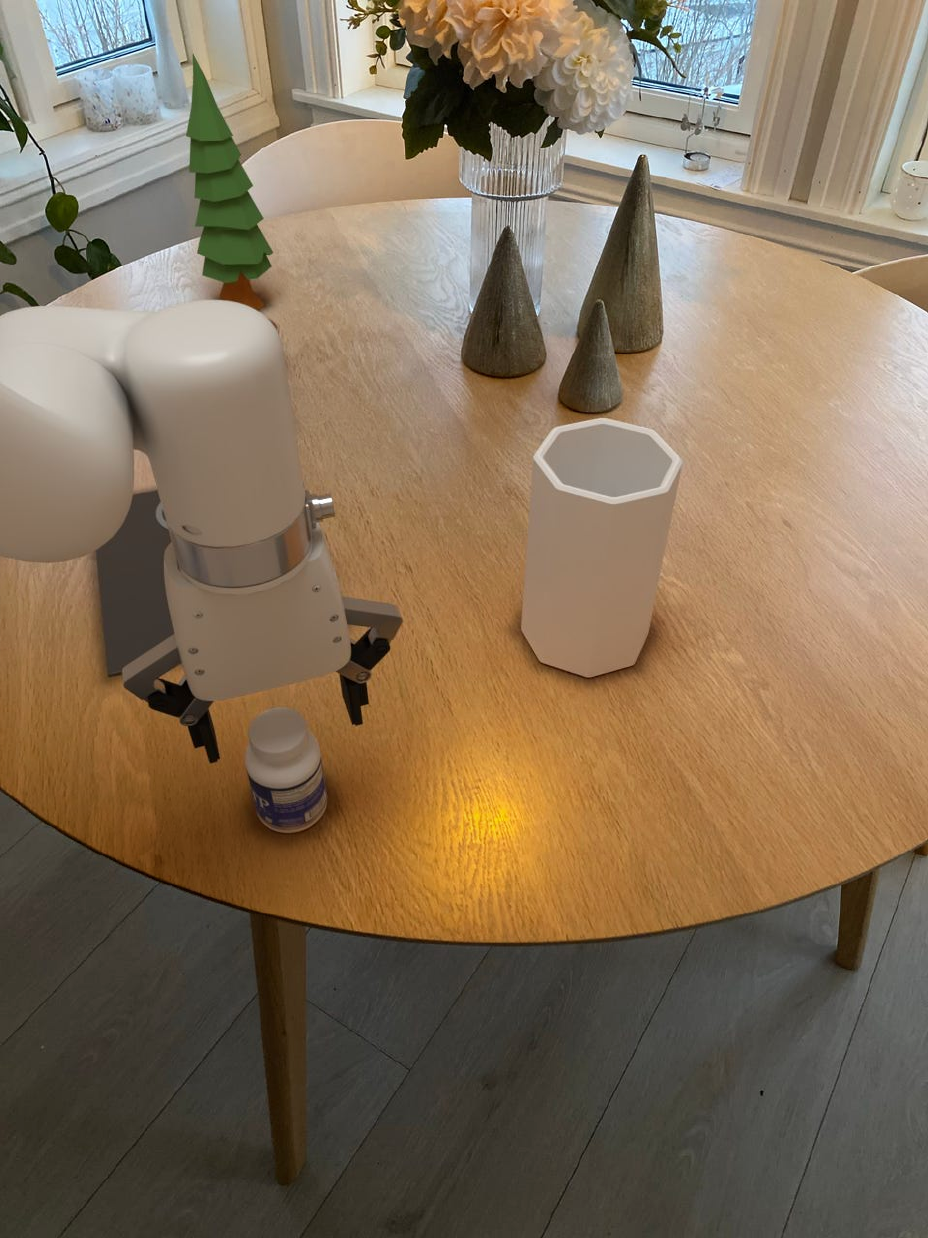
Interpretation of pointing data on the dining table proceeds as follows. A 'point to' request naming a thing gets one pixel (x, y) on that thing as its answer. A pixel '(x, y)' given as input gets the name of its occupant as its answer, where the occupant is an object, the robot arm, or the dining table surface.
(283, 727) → the pill bottle
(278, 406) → the robot arm
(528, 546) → the cup
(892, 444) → the dining table surface
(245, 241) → the decorative tree
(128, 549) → the hob
